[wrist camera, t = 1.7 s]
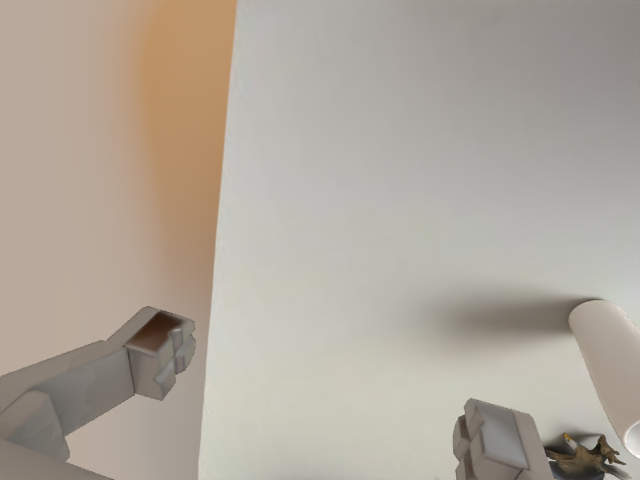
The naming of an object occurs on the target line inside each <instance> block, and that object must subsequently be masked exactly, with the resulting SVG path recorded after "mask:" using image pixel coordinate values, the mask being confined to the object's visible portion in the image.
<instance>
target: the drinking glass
mask: <svg viewBox="0 0 640 480" xmlns="http://www.w3.org/2000/svg"><path fill="white" fill-rule="evenodd" d="M568 323H569V326H570V328H571V330H572V332H573V334H574V336H575V339H576V341H577V344H578V346H579V349H580V351H581V354H582V356H583V359H584V361H585V364H586V367H587V369H588V372H589V374H590V377H591V380H592V382H593V385H594V388H595V390H596V393H597V395H598V398H599V400H600V403H601V405H602V407H603V409H604V411H605V413H606V415H607V417H608V419H609V421H610V423H611V425H612V427H613V429H614V430H615V432H616V434H617V436H618V438H619V439H620V441H621V443H622V445H623V446H624V448H625V449H626V450H627V451H628V452H629V453H630V454H632V455H633V456H635V457H636V458H638V459H640V330H639V329H638V328H637V327H636V326H635V324H634V323H633V322H632V321H631V320H630V319H629V318H628V316H627V315H626V314H625V313H624V311H623V310H622V309H621V308H620V307H619V306H617V305H616V304H614V303H612V302H609V301H604V300H592V301H587V302H584V303H582V304H580V305H578V306H577V307H575V308H574V309H573V310H572V311H571V313H570V315H569V319H568Z"/></svg>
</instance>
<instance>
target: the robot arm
mask: <svg viewBox="0 0 640 480" xmlns="http://www.w3.org/2000/svg"><path fill="white" fill-rule="evenodd" d="M194 330H195V324H194V321H193V320H192V319H189V318H186V317H182V316H179V315H176V314H173V313H169V312H166V311H163V310H159V309H156V308H153V307H150V306H147V307H144V308H142V309H141V310H140V311H139V312H137V313H136V314H135V315H134V316H133V317H132V318H131V319H130V320H129V321H127V322H126V323H125V324H124V325H123V326H122V327H121V328H120V329H118V330H117V331H116V332H115V333H114V334H113V335H112V336H111V337H110V338H108V339H107V340H106V341H102V340H100V341H97V342H94V343H91V344H88V345H86V346H83V347H80V348H77V349H75V350H72V351H69V352H66V353H64V354H61V355H58V356H55V357H53V358H50V359H47V360H44V361H41V362H39V363H36V364H33V365H30V366H28V367H25V368H22V369H19V370H17V371H14V372H11V373H8V374H6V375H3V376H1V377H0V480H114V479H111V478H108V477H105V476H102V475H100V474H96V473H94V472H92V471H89V470H86V469H84V468H81V467H78V466H75V465H73V464H70V463H67V462H66V461H67V460H68V458H69V457H70V451H69V448H68V445H67V442H66V440H65V436H67V435H68V434H70V433H72V432H73V431H75V430H77V429H78V428H80V427H82V426H83V425H85V424H87V423H88V422H90V421H92V420H94V419H95V418H97V417H99V416H100V415H102V414H104V413H105V412H107V411H109V410H110V409H112V408H114V407H116V406H117V405H119V404H121V403H122V402H124V401H126V400H127V399H129V398H131V397H132V396H134V395H135V393H136V394H139V395H143V396H146V397H150V398H153V399H157V400H160V401H162V400H163V399H164V397H165V396H166V395H167V394H168V392H169V391H170V390H171V388H172V387H173V386H174V384H175V383H176V376H175V375H177V374H178V373H181V372H183V371H185V370H186V368H187V367H188V365H189V364H190V362H191V360H192V357H193V355H194V353H195V348H196V340H195V339H194V337H193V336H192V332H193V331H194ZM464 410H465V415H462V416H460V417H458V420H457V422H456V424H455V427H454V433H453V452H454V455H455V456H456V458H457V459H458V461H459V462H460V463H459V465H458V466H457V468H456V470H455V471H456V480H558V479H555V478H554V477H553V474H552V471H551V468H550V465H549V462H548V459H547V457H546V454H545V451H544V448H543V445H542V442H541V439H540V436H539V434H538V431H537V428H536V425H535V422H534V419H533V418H532V416H531V415H530V414H527V413H523V412H519V411H516V410H512V409H508V408H505V407H502V406H498V405H494V404H491V403H487V402H483V401H480V400H476V399H472V398H470V399H469V400H467V402H466V404H465V406H464Z"/></svg>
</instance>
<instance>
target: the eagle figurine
mask: <svg viewBox="0 0 640 480" xmlns="http://www.w3.org/2000/svg"><path fill="white" fill-rule="evenodd" d="M564 436H565V439H566V442H567V443H568V444H569V445H570V446H571V448H572V449H573V450H574V451H575V452H576V454H575V455H566V454H561V453H556V452H553V451H550V450H546V449H544V451H545V454H546V457H549V458H550V459H553V460H556V461H548V462H549V465H550V468H551V471H552V474H553V477H554V478H555V479H558V480H603V478H604V477H605V476H604V475H605V473H609V474H612V475H614V476H616V477H617V478H619V479H621V480H632V478H631V477H630V476H629V474H628V473H626V472H624V471H622V470H621V469H619V468H617V467H616V466H613V465H607V464H605V463H604V462H605V460H607V458H608V461H609V463H610V464H612V463H613V462H615V463H618V464H622V465H626V464H625V463H623V462H621V461H619V460H618V459H617V458H616V457H615V455H614V454H616V455H620V454H619V452H617V451H614V450H613V449H612V448H611V447H610V446H609V445H608V444H607V442H606V437H605V436H604V435H602V436H600V438H599V439H598V444H597V445H596V447H595V448H594V449H593V450H588V449H587V448H585V447H584V446H582V445H580V444H578V443H577V442H575V441H574V440H572V439H571V438H570V437H569V436H568V435H567V434H566V433H564ZM613 453H614V454H613Z"/></svg>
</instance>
